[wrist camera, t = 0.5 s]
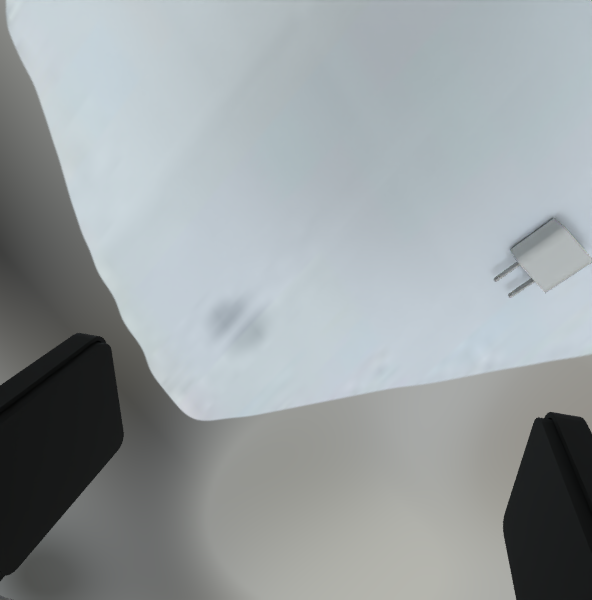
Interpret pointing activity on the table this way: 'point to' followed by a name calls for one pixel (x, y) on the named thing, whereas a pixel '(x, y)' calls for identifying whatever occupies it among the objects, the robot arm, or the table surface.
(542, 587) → the robot arm
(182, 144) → the table surface
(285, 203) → the table surface
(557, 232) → the usb wall charger
